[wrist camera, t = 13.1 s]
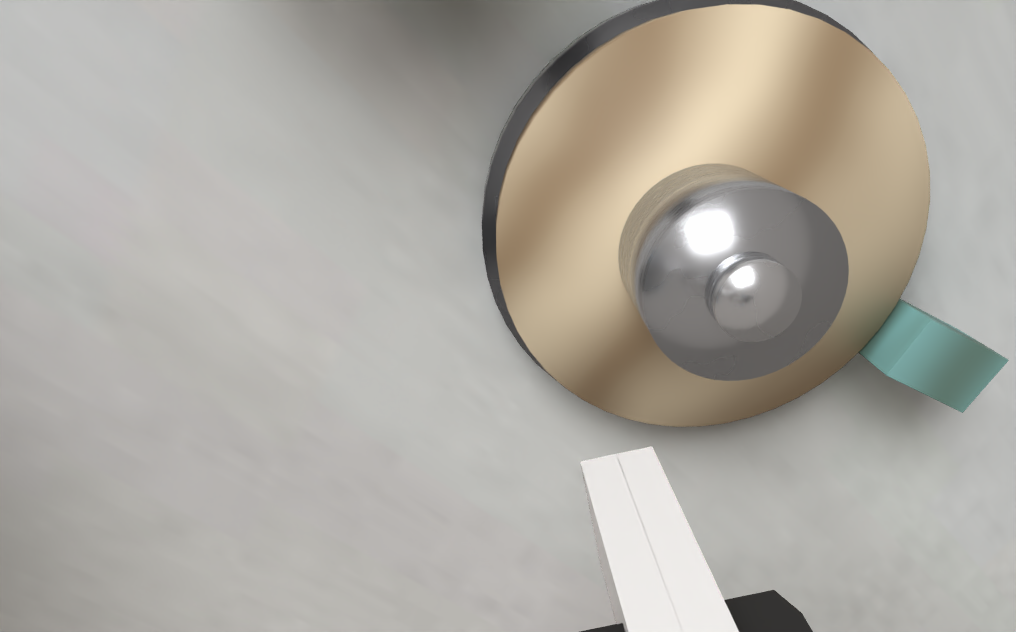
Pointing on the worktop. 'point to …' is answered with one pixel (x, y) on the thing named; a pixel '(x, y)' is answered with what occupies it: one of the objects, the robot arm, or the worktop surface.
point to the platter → (734, 141)
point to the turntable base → (664, 5)
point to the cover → (732, 271)
